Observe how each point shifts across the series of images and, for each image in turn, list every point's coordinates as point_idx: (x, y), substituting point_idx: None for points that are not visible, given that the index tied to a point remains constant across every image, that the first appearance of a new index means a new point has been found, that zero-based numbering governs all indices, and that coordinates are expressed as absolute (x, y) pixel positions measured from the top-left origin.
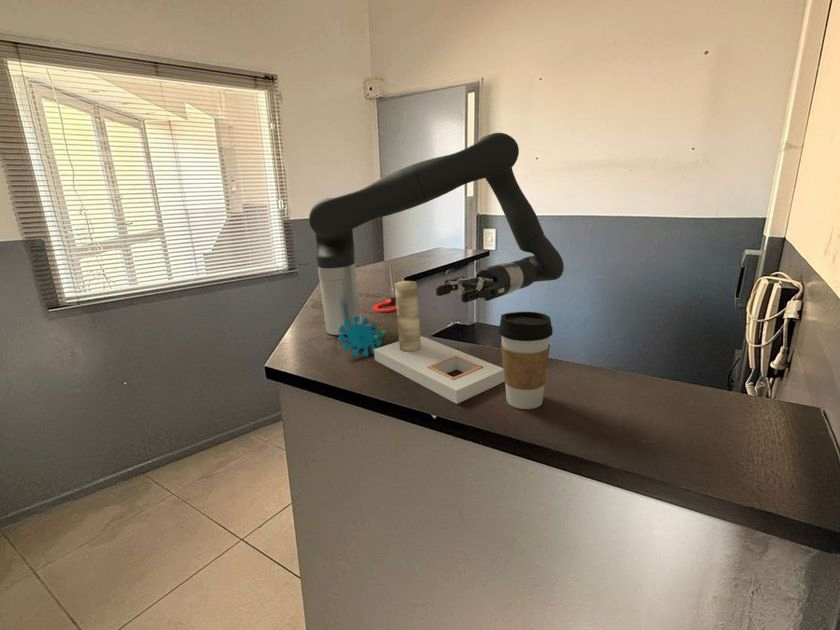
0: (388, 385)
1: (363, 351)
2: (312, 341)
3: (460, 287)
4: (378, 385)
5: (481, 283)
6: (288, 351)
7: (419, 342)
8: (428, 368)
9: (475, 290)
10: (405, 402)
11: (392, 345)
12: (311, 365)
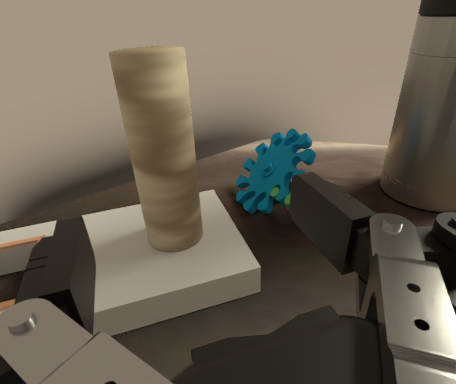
0: (97, 211)
1: (241, 190)
2: (354, 160)
3: (365, 314)
4: (110, 203)
5: (70, 381)
6: (313, 145)
7: (149, 232)
8: (39, 237)
9: (41, 296)
10: (23, 219)
11: (215, 212)
12: (244, 158)
